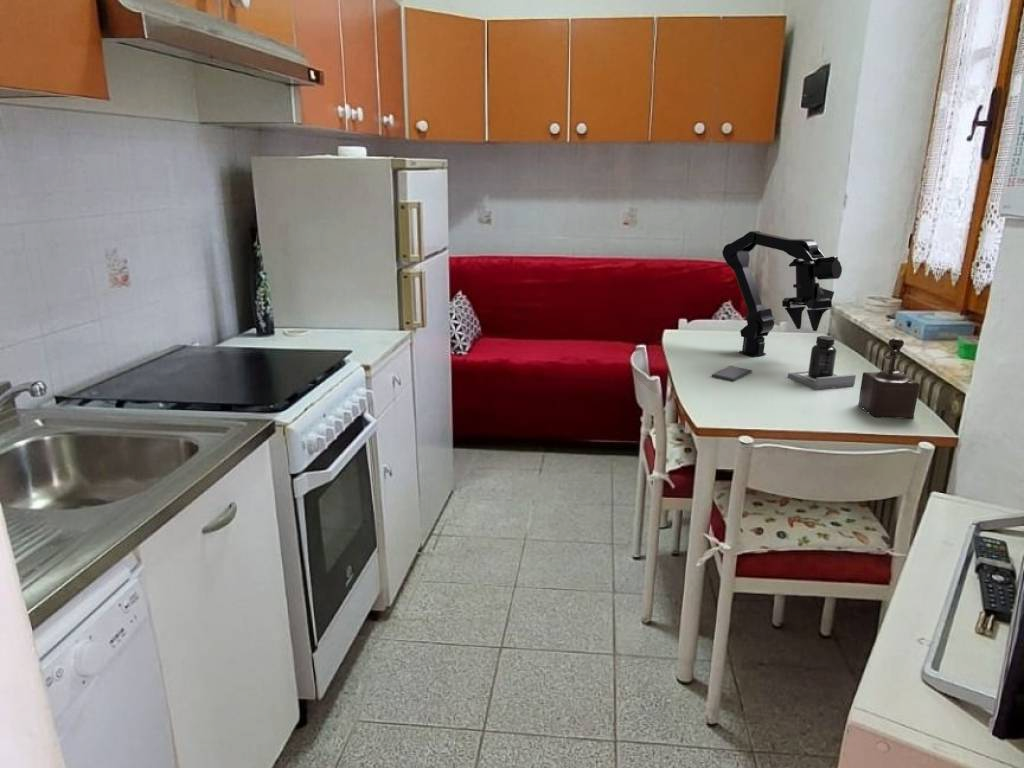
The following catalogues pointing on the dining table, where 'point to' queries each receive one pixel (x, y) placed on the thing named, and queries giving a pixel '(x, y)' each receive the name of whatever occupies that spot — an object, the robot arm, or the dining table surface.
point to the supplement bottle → (822, 358)
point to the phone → (732, 373)
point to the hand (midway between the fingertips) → (806, 330)
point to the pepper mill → (889, 389)
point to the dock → (823, 380)
